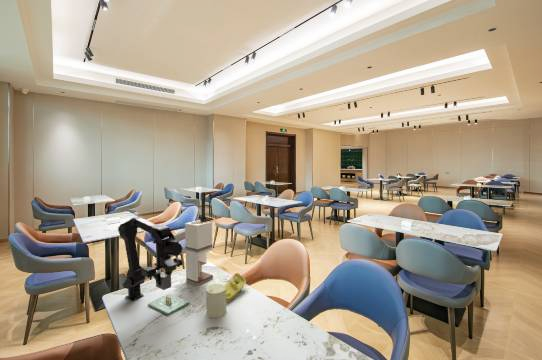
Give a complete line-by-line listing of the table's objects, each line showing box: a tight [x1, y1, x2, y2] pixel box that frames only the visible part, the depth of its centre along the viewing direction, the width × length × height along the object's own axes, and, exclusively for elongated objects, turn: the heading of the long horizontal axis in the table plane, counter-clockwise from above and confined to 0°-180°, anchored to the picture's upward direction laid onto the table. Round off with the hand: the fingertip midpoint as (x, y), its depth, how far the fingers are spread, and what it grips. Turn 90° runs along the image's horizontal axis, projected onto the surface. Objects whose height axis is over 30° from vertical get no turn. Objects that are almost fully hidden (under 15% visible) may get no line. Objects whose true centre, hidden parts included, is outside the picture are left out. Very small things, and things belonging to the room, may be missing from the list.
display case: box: [184, 219, 214, 286], centre depth 158 cm, size 11×11×35 cm
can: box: [205, 283, 227, 319], centre depth 123 cm, size 9×9×12 cm
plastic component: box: [224, 272, 247, 303], centre depth 143 cm, size 20×7×10 cm
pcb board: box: [147, 293, 190, 316], centre depth 131 cm, size 16×12×4 cm
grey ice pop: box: [155, 271, 172, 291], centre depth 129 cm, size 10×4×6 cm, turn 55°
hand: (163, 284), depth 128 cm, fingers closed on grey ice pop, 4 cm apart
